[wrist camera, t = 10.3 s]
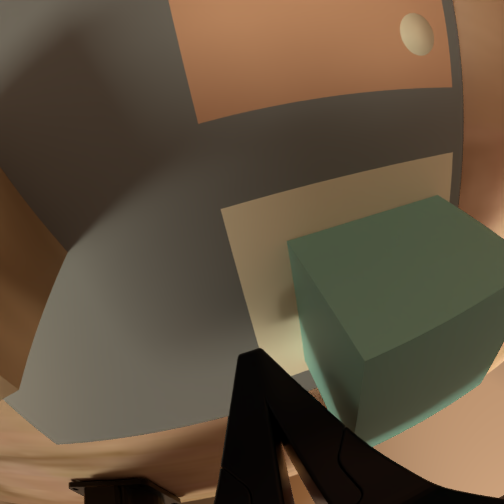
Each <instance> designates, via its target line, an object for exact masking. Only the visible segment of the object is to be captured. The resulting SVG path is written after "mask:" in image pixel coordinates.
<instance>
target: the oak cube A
mask: <svg viewBox="0 0 504 504" xmlns="http://www.w3.org/2000/svg"><path fill="white" fill-rule="evenodd" d="M67 253H68V252H67V251H66V250H65V249H64V247H63V246H62V245H61V244H60V243H59V242H58V240H57V239H56V238H55V237H54V236H53V235H52V233H51V232H50V231H49V230H48V229H47V227H46V226H45V225H44V224H43V223H42V221H41V220H40V219H39V218H38V216H37V215H36V214H35V213H34V211H33V210H32V209H31V208H30V206H29V205H28V204H27V203H26V201H25V200H24V199H23V197H22V196H21V195H20V193H19V192H18V191H17V189H16V188H15V187H14V185H13V184H12V183H11V181H10V180H9V179H8V177H7V176H6V174H5V173H4V172H3V170H2V169H1V167H0V400H2V399H4V398H6V397H7V396H9V395H11V394H13V393H14V392H16V391H18V390H19V388H20V384H21V380H22V376H23V373H24V369H25V366H26V362H27V359H28V356H29V352H30V349H31V346H32V343H33V340H34V337H35V334H36V331H37V328H38V325H39V322H40V319H41V317H42V314H43V311H44V308H45V306H46V303H47V300H48V298H49V295H50V293H51V290H52V288H53V285H54V283H55V281H56V278H57V276H58V273H59V271H60V269H61V266H62V264H63V262H64V260H65V257H66V255H67Z"/></svg>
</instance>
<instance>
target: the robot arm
mask: <svg viewBox="0 0 504 504" xmlns="http://www.w3.org/2000/svg"><path fill="white" fill-rule="evenodd" d="M282 445H283V446H284V448H285V450H286V452H287V454H288V456H289V458H290V459H291V461H292V463H293V465H294V467H295V469H296V470H297V472H298V474H299V476H300V478H301V479H302V481H303V483H304V485H305V486H306V488H307V490H308V492H309V494H310V495H311V497H312V499H313V501H314V502H315V504H504V495H503V496H502V497H500V498H495V497H489V496H483V495H477V494H471V493H467V492H462V491H457V490H453V489H448V488H445V487H442V486H439V485H436V484H434V483H432V482H430V481H427V480H426V479H424V478H422V477H420V476H418V475H416V474H415V473H413V472H411V471H409V470H408V469H406V468H404V467H403V466H401V465H399V464H397V463H396V462H394V461H392V460H391V459H389V458H388V457H386V456H384V455H383V454H381V453H380V452H378V451H377V450H376V449H374V448H373V447H371V446H370V445H369V444H367V443H366V442H365V441H364V440H362V439H361V438H360V437H359V436H357V435H356V434H355V433H354V432H353V431H351V430H350V429H349V428H348V427H345V425H344V424H343V423H342V422H341V421H340V420H339V419H338V418H336V417H335V416H334V415H333V414H332V413H331V412H330V411H329V410H327V409H326V408H325V407H324V406H323V405H322V404H321V403H320V402H319V401H317V400H316V399H315V398H314V397H313V396H312V395H311V394H310V393H309V392H308V391H307V390H305V389H304V388H303V387H302V386H301V385H300V384H299V383H298V382H297V381H296V380H295V379H294V378H293V377H291V376H290V375H289V374H288V373H287V372H286V371H285V370H284V369H283V368H282V367H281V366H280V365H279V364H278V363H277V362H276V361H275V360H274V359H273V358H272V357H270V356H269V355H268V354H267V353H266V352H265V351H264V350H263V349H262V348H257V349H254V350H251V351H248V352H245V353H241V354H239V355H238V358H237V364H236V370H235V377H234V383H233V390H232V396H231V403H230V409H229V416H228V422H227V429H226V435H225V442H224V448H223V455H222V461H221V467H222V468H221V469H220V473H219V479H218V485H217V490H216V495H215V500H214V504H294V499H293V494H292V490H291V485H290V481H289V476H288V471H287V467H286V462H285V457H284V453H283V448H282ZM69 489H71V490H73V491H75V492H76V493H78V494H80V495H82V496H84V504H181V501H180V499H179V498H178V497H176V496H174V495H172V494H171V493H169V492H167V491H165V490H164V489H162V488H160V487H159V486H157V485H155V484H154V483H152V482H150V481H149V480H147V479H141V478H140V479H128V480H116V481H100V482H69Z"/></svg>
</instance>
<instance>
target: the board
mask: <svg viewBox="0 0 504 504" xmlns="http://www.w3.org/2000/svg"><path fill="white" fill-rule="evenodd" d="M463 125H464V115H463V83H462V68H461V57H460V47H459V39H458V31H457V24H456V18H455V12H454V6H453V1H452V0H0V167H1V169H2V170H3V172H4V173H5V174H6V176H7V177H8V179H9V180H10V181H11V183H12V184H13V185H14V187H15V188H16V189H17V191H18V192H19V193H20V195H21V196H22V197H23V199H24V200H25V201H26V203H27V204H28V205H29V206H30V208H31V209H32V210H33V211H34V213H35V214H36V215H37V216H38V218H39V219H40V220H41V221H42V223H43V224H44V225H45V226H46V227H47V229H48V230H49V231H50V232H51V233H52V235H53V236H54V237H55V238H56V239H57V240H58V242H59V243H60V244H61V245H62V246H63V247H64V249H65V250H66V251H67V252H68V253H67V255H66V257H65V260H64V262H63V264H62V266H61V269H60V271H59V273H58V276H57V278H56V281H55V283H54V285H53V288H52V290H51V293H50V295H49V298H48V300H47V303H46V306H45V308H44V311H43V314H42V317H41V319H40V322H39V325H38V328H37V331H36V334H35V337H34V340H33V343H32V346H31V349H30V352H29V356H28V359H27V362H26V366H25V369H24V373H23V376H22V380H21V384H20V388H19V390H18V391H16V392H14V393H13V394H11V395H9V396H7V397H6V398H4V399H3V400H4V401H5V402H7V403H8V404H9V405H10V406H11V407H12V408H13V409H14V410H15V411H16V412H18V413H19V414H20V415H21V416H22V417H23V418H24V419H26V420H27V421H28V422H29V423H30V424H32V425H33V426H34V427H35V428H36V429H38V430H39V431H40V432H41V433H43V434H44V435H45V436H46V437H48V438H49V439H50V440H52V441H53V442H54V443H56V444H71V443H83V442H93V441H102V440H110V439H118V438H125V437H131V436H138V435H144V434H149V433H155V432H160V431H166V430H171V429H176V428H180V427H185V426H190V425H194V424H198V423H203V422H207V421H211V420H215V419H219V418H223V417H227V416H229V409H230V403H231V396H232V390H233V383H234V377H235V370H236V364H237V358H238V355H239V354H241V353H245V352H248V351H251V350H254V349H257V348H262V349H263V350H264V351H265V352H266V353H267V354H268V355H269V356H270V357H272V358H273V359H274V360H275V361H276V362H277V363H278V364H279V365H280V366H281V367H282V368H283V369H284V370H285V371H286V372H287V373H288V374H289V375H290V376H291V377H293V378H294V379H295V380H296V381H297V382H298V383H299V384H300V385H301V386H302V387H303V388H304V389H305V390H307V391H309V390H312V389H315V388H317V385H316V383H315V381H314V379H313V377H312V375H311V373H310V371H309V368H308V366H307V364H306V362H305V358H304V351H303V344H302V337H301V330H300V323H299V316H298V309H297V303H296V296H295V289H294V283H293V277H292V270H291V264H290V258H289V252H288V246H287V241H289V240H292V239H295V238H299V237H302V236H305V235H308V234H312V233H315V232H318V231H321V230H325V229H328V228H331V227H335V226H338V225H341V224H344V223H348V222H351V221H354V220H357V219H361V218H364V217H367V216H370V215H374V214H377V213H380V212H384V211H387V210H390V209H393V208H397V207H400V206H403V205H406V204H410V203H413V202H416V201H419V200H423V199H426V198H429V197H432V196H436V195H439V196H440V197H442V198H443V199H445V200H447V201H448V202H450V203H451V204H453V205H454V206H456V207H458V204H459V195H460V185H461V173H462V158H463Z"/></svg>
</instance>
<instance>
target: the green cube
mask: <svg viewBox="0 0 504 504" xmlns="http://www.w3.org/2000/svg"><path fill="white" fill-rule="evenodd" d="M287 246H288V252H289V258H290V264H291V270H292V277H293V283H294V289H295V296H296V303H297V309H298V316H299V323H300V330H301V337H302V344H303V351H304V358H305V362H306V364H307V366H308V368H309V371H310V373H311V375H312V377H313V379H314V381H315V383H316V385H317V388H318V390H319V392H320V394H321V396H322V398H323V400H324V402H325V405H326V407H327V409H328V410H329V411H330V412H331V413H332V414H333V415H334V416H335V417H336V418H338V419H339V420H340V421H341V422H342V423H343V424H344V425H345V427H348V428H349V429H350V430H351V431H353V432H354V433H355V434H356V435H357V436H359V437H360V438H361V439H362V440H364V441H365V442H366V443H367V444H369V445H370V446H371V447H373V446H375V445H377V444H380V443H382V442H384V441H386V440H388V439H390V438H392V437H394V436H396V435H398V434H400V433H402V432H403V431H405V430H407V429H409V428H411V427H413V426H415V425H416V424H418V423H420V422H422V421H423V420H425V419H427V418H429V417H430V416H432V415H434V414H435V413H437V412H438V411H440V410H442V409H443V408H445V407H447V406H448V405H450V404H451V403H453V402H454V401H456V400H458V399H459V398H461V397H462V396H464V395H465V394H466V393H468V392H469V391H471V390H472V389H474V388H475V387H476V386H478V385H479V384H480V383H481V382H482V380H483V378H484V377H485V375H486V373H487V372H488V370H489V368H490V366H491V365H492V363H493V361H494V359H495V357H496V356H497V354H498V352H499V350H500V348H501V346H502V344H503V342H504V239H503V238H501V237H500V236H498V235H497V234H496V233H494V232H493V231H491V230H490V229H489V228H487V227H486V226H484V225H483V224H482V223H480V222H479V221H477V220H476V219H474V218H473V217H471V216H470V215H468V214H467V213H465V212H464V211H462V210H461V209H459V208H458V207H456V206H454V205H453V204H451V203H450V202H448V201H447V200H445V199H443V198H442V197H440V196H439V195H436V196H432V197H429V198H426V199H423V200H419V201H416V202H413V203H410V204H406V205H403V206H400V207H397V208H393V209H390V210H387V211H384V212H380V213H377V214H374V215H370V216H367V217H364V218H361V219H357V220H354V221H351V222H348V223H344V224H341V225H338V226H335V227H331V228H328V229H325V230H321V231H318V232H315V233H312V234H308V235H305V236H302V237H299V238H295V239H292V240H289V241H287Z"/></svg>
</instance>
